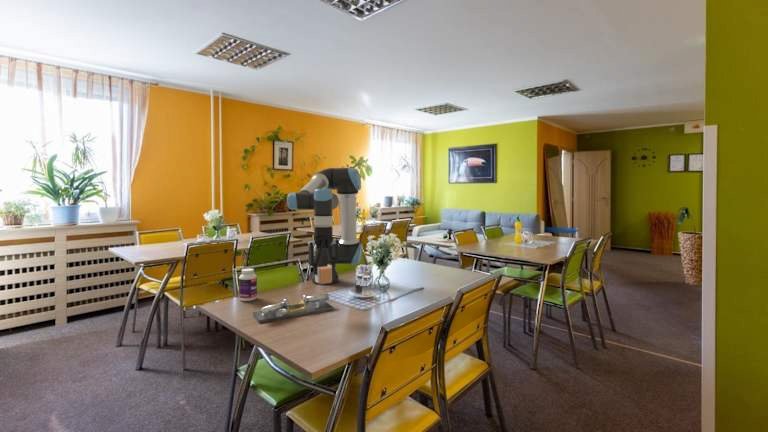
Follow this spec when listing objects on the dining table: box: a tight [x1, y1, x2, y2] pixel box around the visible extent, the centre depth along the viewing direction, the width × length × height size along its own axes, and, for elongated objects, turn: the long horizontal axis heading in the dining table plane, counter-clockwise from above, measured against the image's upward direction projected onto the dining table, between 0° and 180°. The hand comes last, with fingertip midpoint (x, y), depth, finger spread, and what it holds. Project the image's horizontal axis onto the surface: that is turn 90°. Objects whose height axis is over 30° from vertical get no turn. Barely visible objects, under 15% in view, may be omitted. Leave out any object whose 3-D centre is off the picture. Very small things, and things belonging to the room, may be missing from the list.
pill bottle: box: [238, 268, 258, 302], centre depth 176 cm, size 8×8×14 cm
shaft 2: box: [301, 293, 330, 307], centre depth 163 cm, size 11×5×6 cm, turn 122°
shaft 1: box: [259, 298, 290, 319], centre depth 151 cm, size 11×5×6 cm, turn 142°
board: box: [252, 298, 335, 324], centre depth 158 cm, size 32×11×4 cm, turn 122°
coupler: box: [318, 266, 332, 285], centre depth 155 cm, size 5×5×6 cm
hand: (323, 280), depth 155 cm, fingers closed on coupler, 5 cm apart
